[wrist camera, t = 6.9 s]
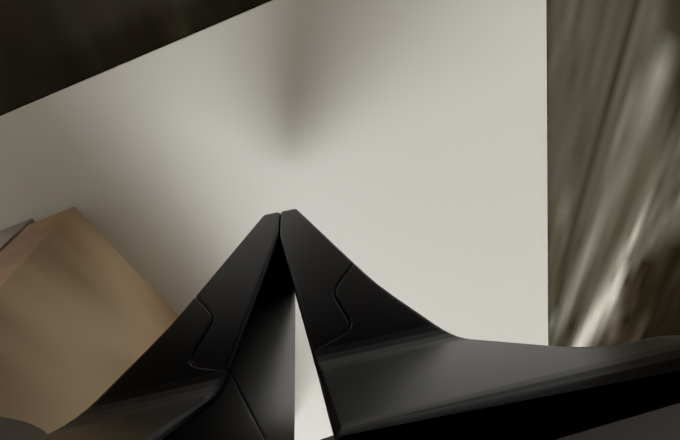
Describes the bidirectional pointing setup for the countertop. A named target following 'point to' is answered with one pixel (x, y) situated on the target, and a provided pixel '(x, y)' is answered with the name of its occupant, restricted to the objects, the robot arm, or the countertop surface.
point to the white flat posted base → (316, 157)
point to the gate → (68, 323)
